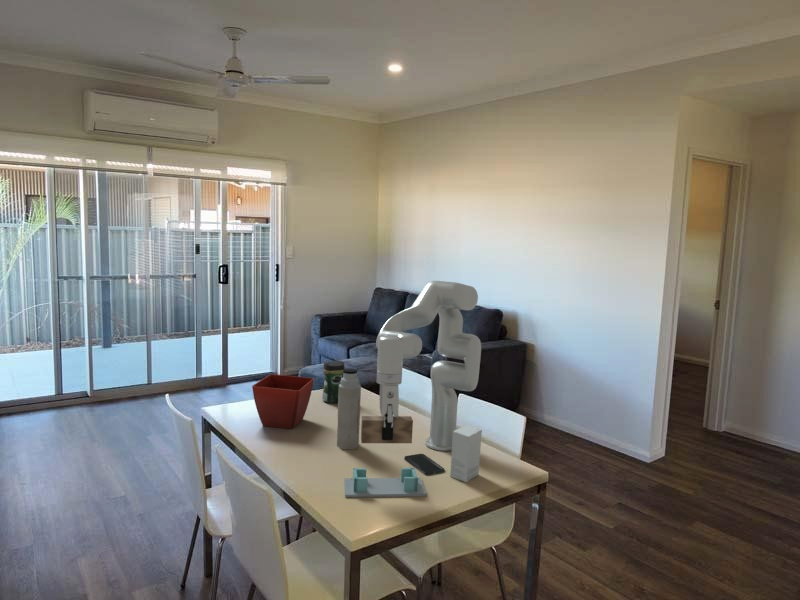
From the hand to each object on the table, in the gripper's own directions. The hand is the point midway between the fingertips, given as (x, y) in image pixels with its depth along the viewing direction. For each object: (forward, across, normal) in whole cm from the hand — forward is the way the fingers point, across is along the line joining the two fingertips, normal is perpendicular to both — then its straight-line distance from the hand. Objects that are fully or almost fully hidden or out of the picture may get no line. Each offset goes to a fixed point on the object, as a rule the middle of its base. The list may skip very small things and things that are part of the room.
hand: (386, 436), depth 167 cm
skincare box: (+16, +8, -27) cm, 33 cm away
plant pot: (+16, +59, +35) cm, 70 cm away
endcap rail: (+16, 0, 0) cm, 16 cm away
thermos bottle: (+16, +35, +10) cm, 40 cm away
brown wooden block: (+1, 0, 0) cm, 1 cm away
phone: (+17, +17, -15) cm, 28 cm away
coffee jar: (+16, +89, +15) cm, 92 cm away
